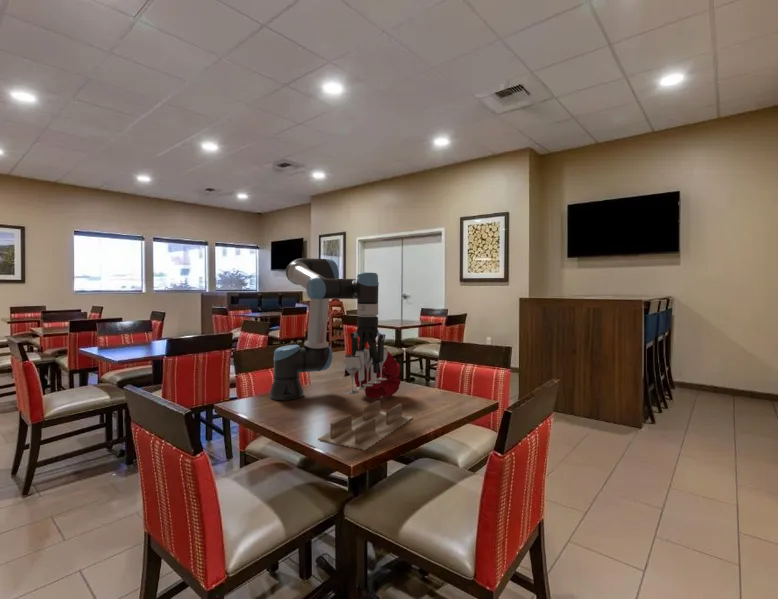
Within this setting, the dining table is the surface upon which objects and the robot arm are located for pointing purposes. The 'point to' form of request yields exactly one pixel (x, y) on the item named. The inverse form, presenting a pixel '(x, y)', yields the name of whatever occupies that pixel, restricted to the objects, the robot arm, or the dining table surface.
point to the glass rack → (365, 427)
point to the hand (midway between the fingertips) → (367, 381)
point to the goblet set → (361, 366)
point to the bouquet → (385, 386)
